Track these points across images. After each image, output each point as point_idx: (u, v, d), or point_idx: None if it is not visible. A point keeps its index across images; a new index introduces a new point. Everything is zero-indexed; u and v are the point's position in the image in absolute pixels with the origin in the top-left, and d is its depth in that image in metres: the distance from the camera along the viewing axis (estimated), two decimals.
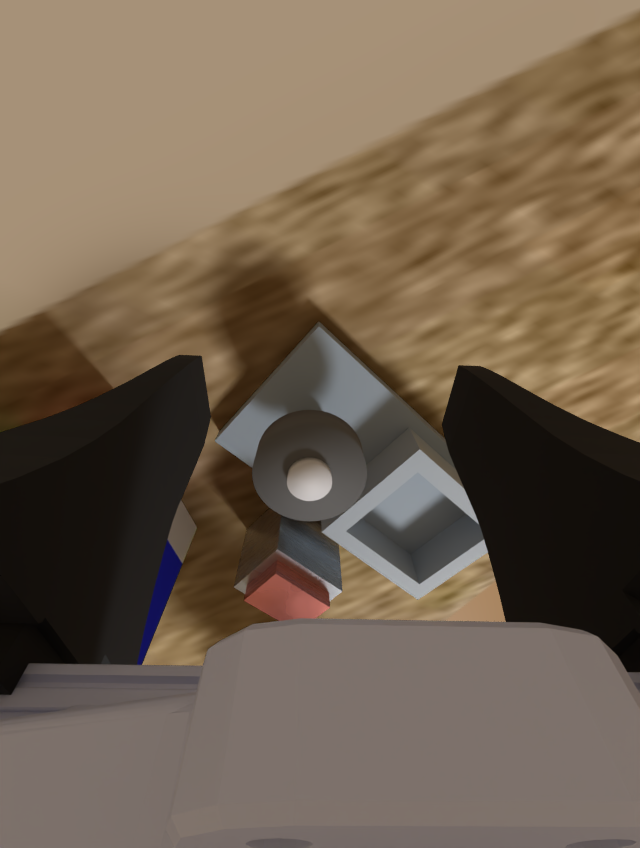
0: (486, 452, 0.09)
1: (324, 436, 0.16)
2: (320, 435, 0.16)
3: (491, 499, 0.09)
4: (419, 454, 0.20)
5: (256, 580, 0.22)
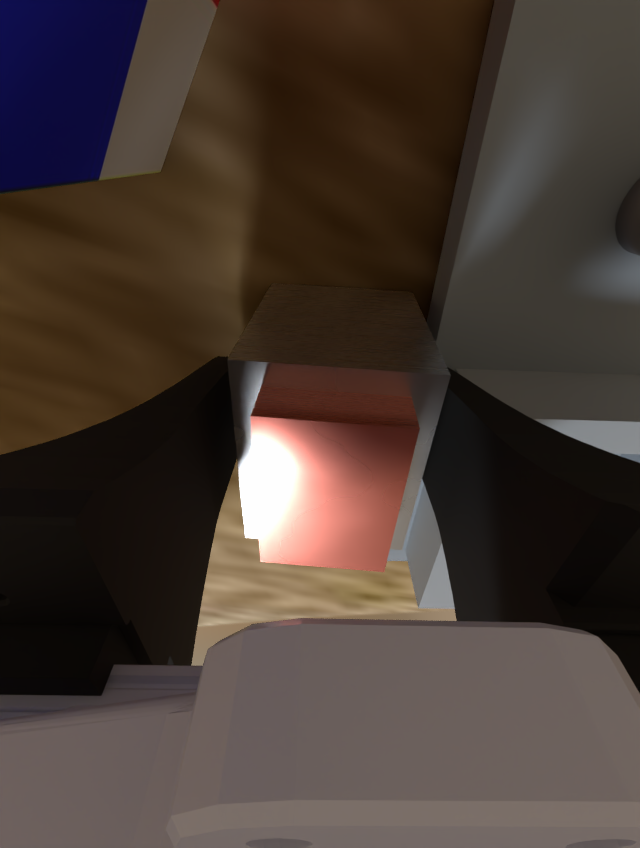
0: (442, 451, 0.09)
1: None
2: None
3: (446, 498, 0.09)
4: None
5: (312, 396, 0.07)
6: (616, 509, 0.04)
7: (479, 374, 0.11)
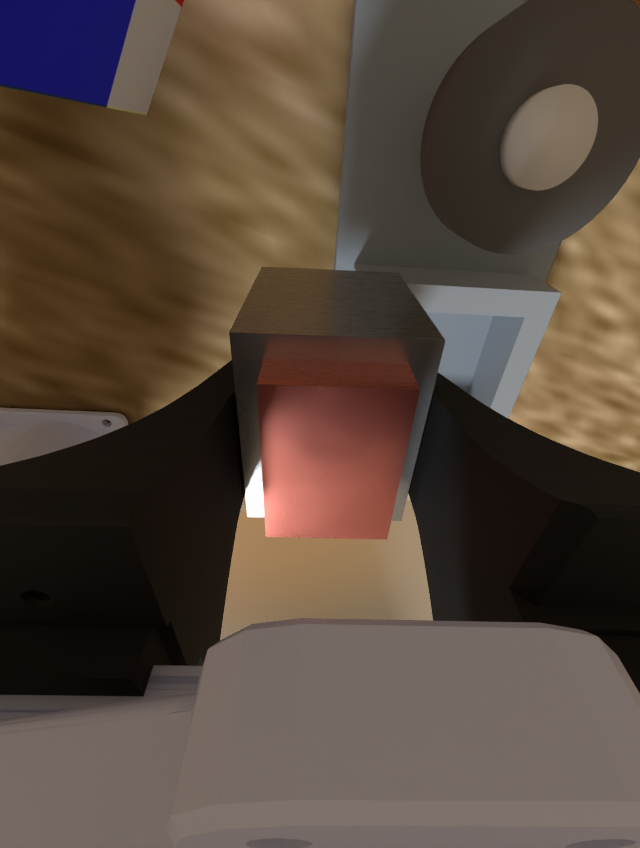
0: (421, 450, 0.09)
1: None
2: (639, 89, 0.09)
3: (425, 497, 0.09)
4: (552, 298, 0.14)
5: (314, 365, 0.07)
6: (570, 508, 0.04)
7: (368, 266, 0.16)
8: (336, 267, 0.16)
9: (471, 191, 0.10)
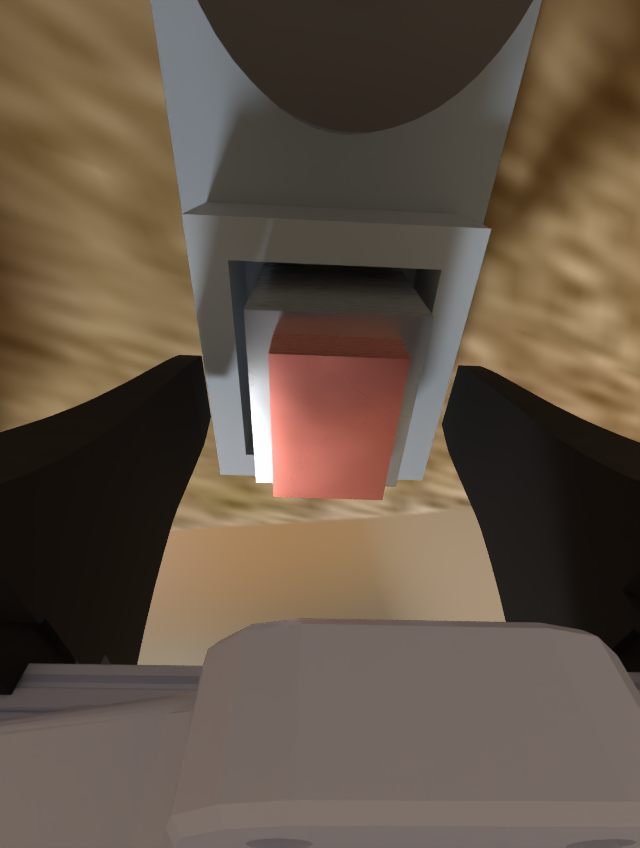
0: (486, 452, 0.09)
1: None
2: None
3: (491, 499, 0.09)
4: (479, 238, 0.09)
5: (318, 339, 0.08)
6: None
7: (224, 204, 0.11)
8: (183, 207, 0.11)
9: None
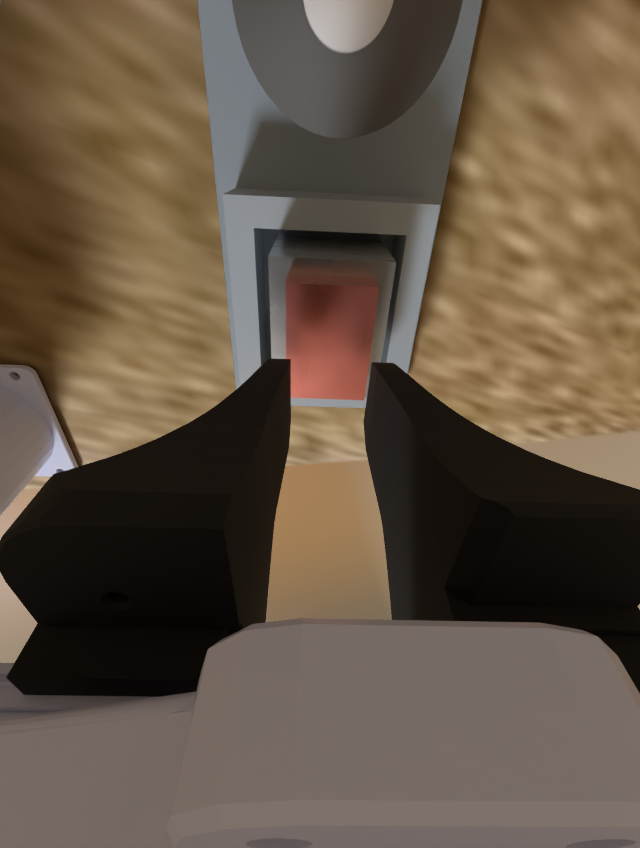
0: (385, 449, 0.09)
1: None
2: None
3: (387, 496, 0.09)
4: (432, 212, 0.13)
5: (318, 277, 0.12)
6: (490, 506, 0.04)
7: (249, 189, 0.15)
8: (217, 192, 0.15)
9: (284, 58, 0.09)
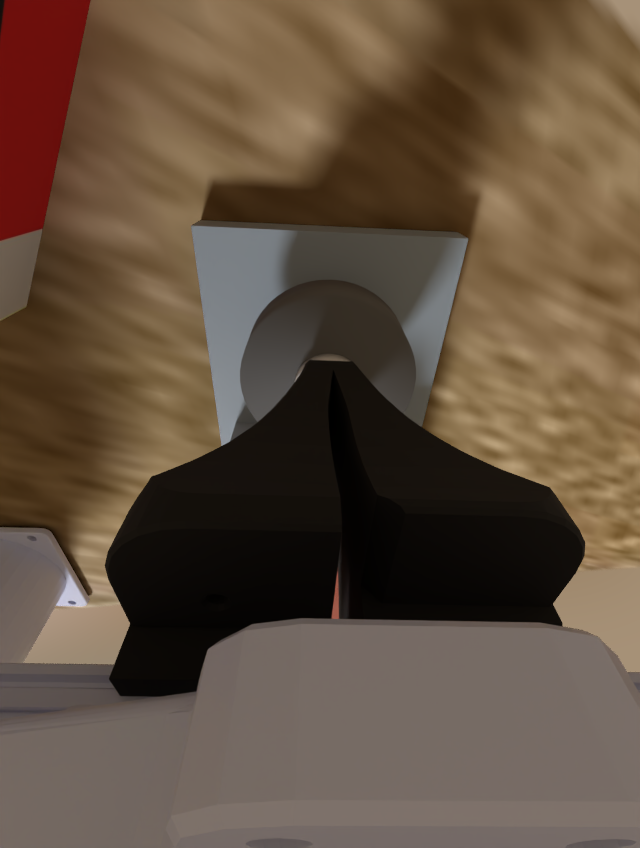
0: (338, 447, 0.09)
1: (398, 359, 0.11)
2: (396, 354, 0.11)
3: None
4: None
5: None
6: (386, 503, 0.04)
7: (248, 427, 0.17)
8: (219, 425, 0.17)
9: None
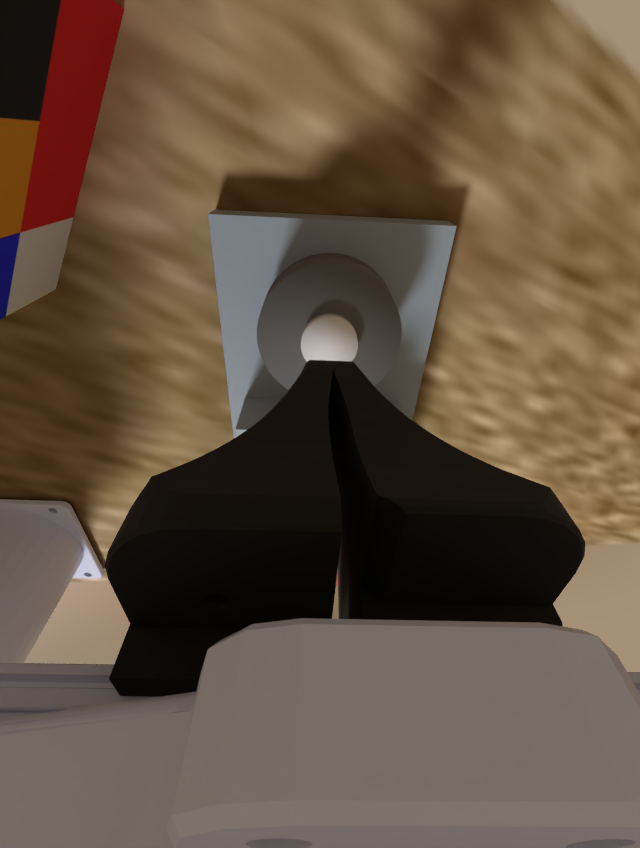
0: (338, 447, 0.09)
1: (387, 318, 0.13)
2: (385, 313, 0.13)
3: None
4: None
5: None
6: (386, 503, 0.04)
7: (256, 401, 0.18)
8: (230, 400, 0.18)
9: (289, 367, 0.14)
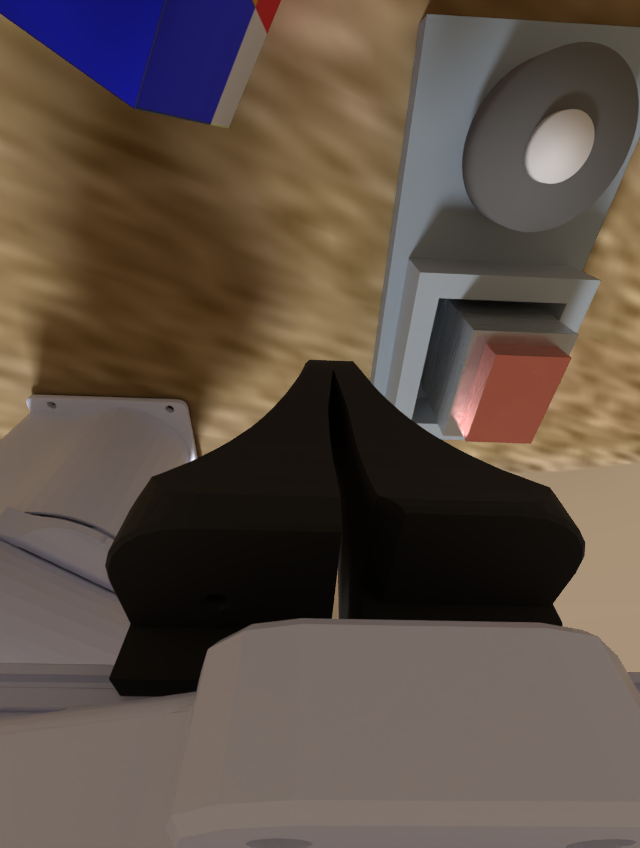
0: (337, 447, 0.09)
1: (624, 117, 0.13)
2: (623, 111, 0.12)
3: None
4: (593, 285, 0.16)
5: (513, 346, 0.14)
6: (386, 503, 0.04)
7: (422, 260, 0.17)
8: (392, 261, 0.18)
9: (502, 185, 0.14)
